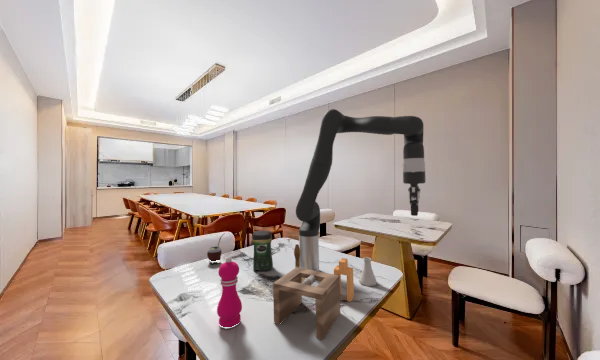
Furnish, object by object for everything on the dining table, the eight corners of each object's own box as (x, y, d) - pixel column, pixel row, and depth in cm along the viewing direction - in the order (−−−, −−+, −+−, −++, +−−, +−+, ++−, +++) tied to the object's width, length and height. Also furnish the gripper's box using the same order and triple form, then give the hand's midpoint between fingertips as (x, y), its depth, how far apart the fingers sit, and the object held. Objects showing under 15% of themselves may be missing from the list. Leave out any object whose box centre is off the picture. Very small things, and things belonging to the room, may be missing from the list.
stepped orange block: (334, 298, 83) (333, 260, 83) (338, 293, 86) (337, 257, 86) (350, 301, 80) (349, 263, 80) (353, 296, 83) (352, 259, 83)
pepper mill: (220, 316, 73) (219, 253, 73) (244, 315, 73) (242, 252, 73) (214, 331, 65) (212, 261, 65) (240, 329, 66) (238, 260, 66)
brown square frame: (273, 323, 69) (273, 283, 69) (296, 301, 81) (296, 267, 81) (323, 339, 61) (322, 294, 61) (340, 312, 73) (339, 275, 73)
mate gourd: (204, 265, 119) (204, 236, 119) (213, 259, 126) (212, 232, 126) (218, 265, 117) (217, 236, 117) (225, 260, 125) (225, 232, 125)
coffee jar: (273, 265, 116) (272, 228, 116) (272, 271, 108) (271, 232, 108) (254, 265, 116) (253, 229, 116) (251, 272, 108) (250, 232, 108)
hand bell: (285, 280, 98) (284, 243, 98) (302, 277, 101) (302, 241, 101) (292, 289, 90) (291, 248, 90) (311, 284, 94) (310, 245, 94)
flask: (378, 287, 90) (377, 262, 90) (359, 286, 92) (358, 261, 92) (375, 279, 97) (375, 256, 97) (358, 278, 99) (357, 255, 99)
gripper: (404, 171, 94) (405, 211, 94) (401, 170, 82) (402, 216, 82) (425, 171, 91) (426, 212, 91) (425, 169, 78) (426, 217, 78)
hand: (414, 213), depth 86 cm, fingers open, 8 cm apart
